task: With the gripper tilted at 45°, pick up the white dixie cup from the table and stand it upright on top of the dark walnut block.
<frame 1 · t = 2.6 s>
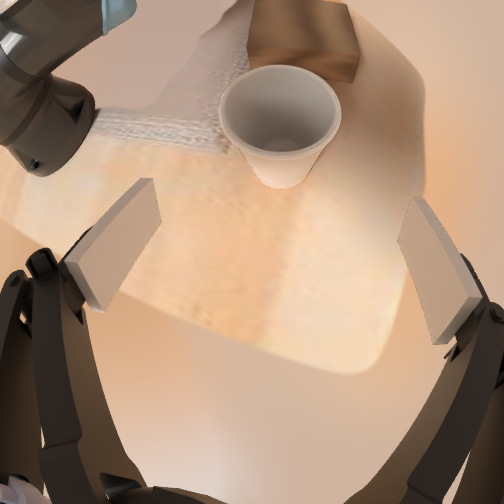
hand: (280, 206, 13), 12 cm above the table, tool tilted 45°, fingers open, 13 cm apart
walnut block: (301, 47, 27), on the table
dixie cup: (281, 163, 26), on the table
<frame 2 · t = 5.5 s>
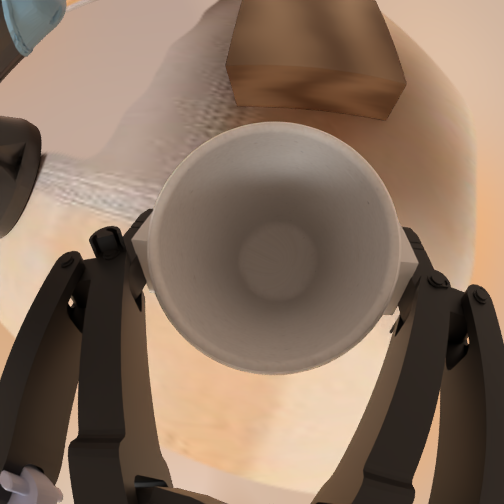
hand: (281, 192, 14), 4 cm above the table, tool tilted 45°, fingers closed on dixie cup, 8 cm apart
walnut block: (312, 60, 19), on the table
dixie cup: (278, 261, 18), on the table, touching gripper
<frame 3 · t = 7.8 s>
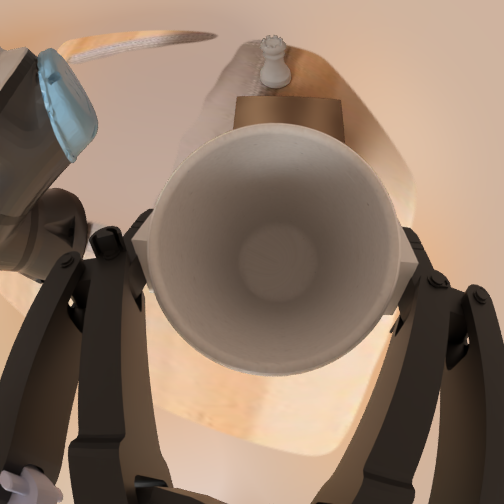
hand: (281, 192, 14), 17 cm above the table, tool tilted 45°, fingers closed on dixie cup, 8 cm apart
walnut block: (288, 158, 32), on the table
dixie cup: (278, 262, 18), point 13 cm above the table, touching gripper
rook chess piece: (275, 80, 33), on the table
when the fingers open (11 cm above the table, at t = 10.5 s): dixie cup drops 1 cm, resting on walnut block.
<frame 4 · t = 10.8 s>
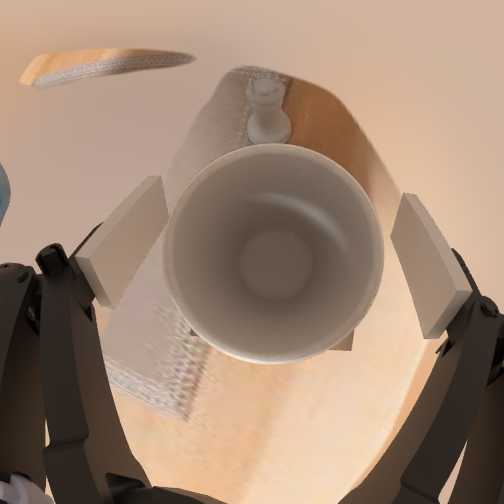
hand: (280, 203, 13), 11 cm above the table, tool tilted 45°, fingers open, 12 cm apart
dixie cup: (276, 263, 20), point 5 cm above the table, touching walnut block
rook chess piece: (269, 133, 26), on the table
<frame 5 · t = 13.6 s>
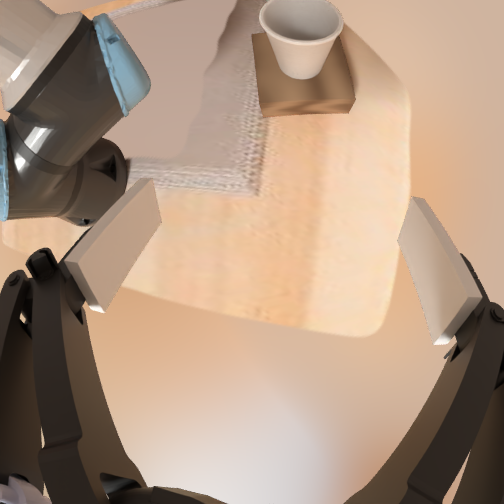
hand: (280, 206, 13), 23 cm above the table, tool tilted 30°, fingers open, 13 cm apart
walnut block: (300, 78, 33), on the table
dixie cup: (300, 62, 28), point 5 cm above the table, touching walnut block
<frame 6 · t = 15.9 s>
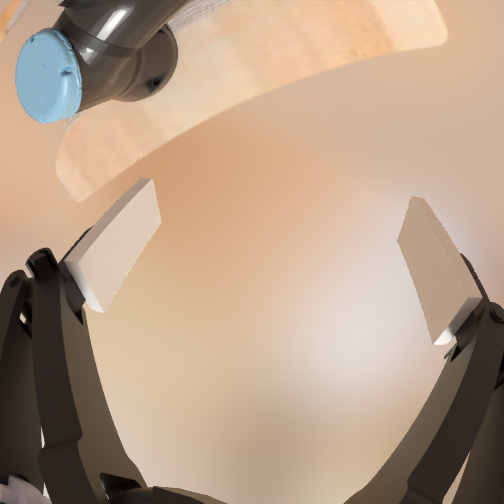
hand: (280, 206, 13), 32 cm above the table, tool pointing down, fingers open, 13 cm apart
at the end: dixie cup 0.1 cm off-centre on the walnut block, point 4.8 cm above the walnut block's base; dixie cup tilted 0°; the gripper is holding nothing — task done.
